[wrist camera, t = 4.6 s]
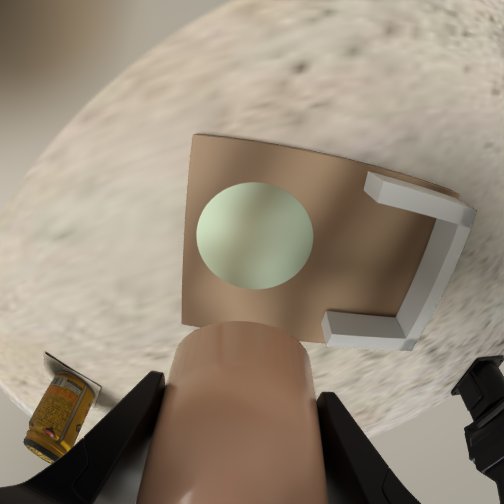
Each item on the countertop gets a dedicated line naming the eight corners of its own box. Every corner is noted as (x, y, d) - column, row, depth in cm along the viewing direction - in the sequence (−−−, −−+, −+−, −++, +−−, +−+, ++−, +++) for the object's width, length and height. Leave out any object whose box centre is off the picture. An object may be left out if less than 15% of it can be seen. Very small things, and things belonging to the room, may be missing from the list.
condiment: (94, 406, 32) (66, 474, 21) (44, 376, 30) (9, 439, 20) (101, 385, 29) (67, 465, 18) (44, 350, 27) (-1, 421, 17)
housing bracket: (456, 198, 16) (476, 210, 14) (401, 329, 21) (411, 350, 19) (368, 171, 16) (383, 181, 14) (321, 323, 21) (326, 346, 19)
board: (452, 190, 17) (459, 194, 16) (389, 339, 23) (393, 347, 22) (196, 133, 17) (192, 134, 16) (184, 316, 23) (181, 324, 22)
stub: (328, 330, 9) (365, 510, 4) (291, 410, 11) (298, 536, 6) (173, 309, 9) (112, 492, 4) (176, 397, 11) (149, 523, 6)
